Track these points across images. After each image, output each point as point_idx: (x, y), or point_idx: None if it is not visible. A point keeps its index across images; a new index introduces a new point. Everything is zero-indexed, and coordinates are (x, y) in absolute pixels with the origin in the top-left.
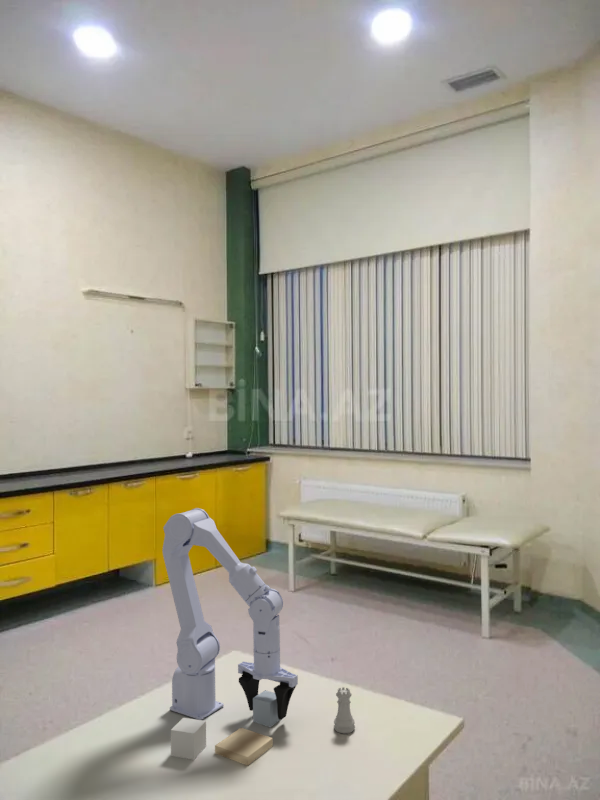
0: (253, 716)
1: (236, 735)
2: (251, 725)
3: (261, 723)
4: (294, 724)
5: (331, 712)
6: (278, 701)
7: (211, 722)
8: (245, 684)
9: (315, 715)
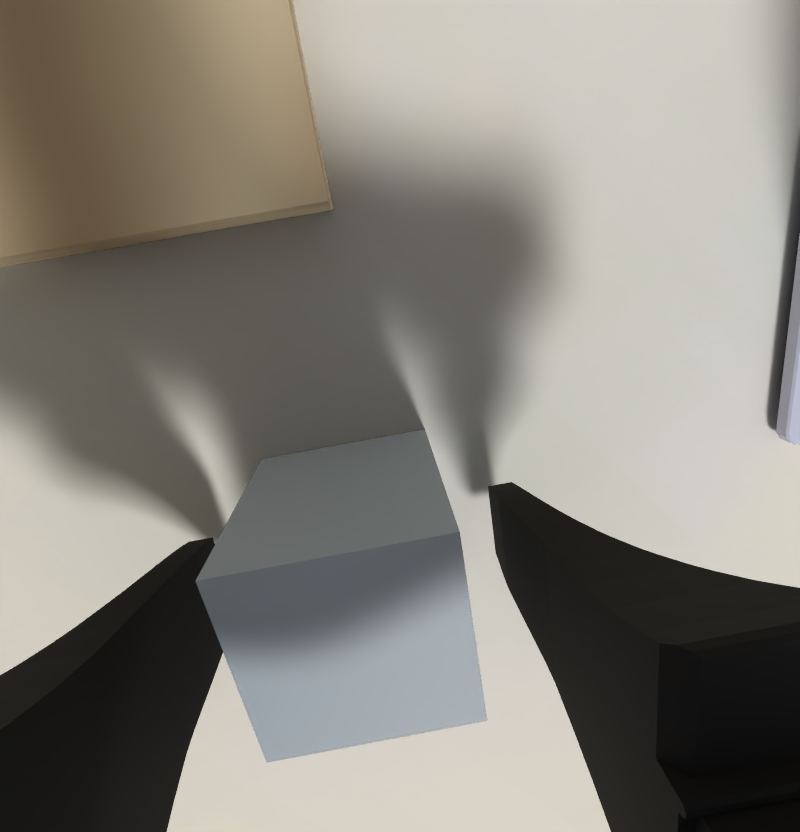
0: (424, 445)
1: (223, 31)
2: (390, 382)
3: (344, 447)
4: None
5: None
6: (71, 652)
7: (702, 185)
8: (655, 616)
9: None
